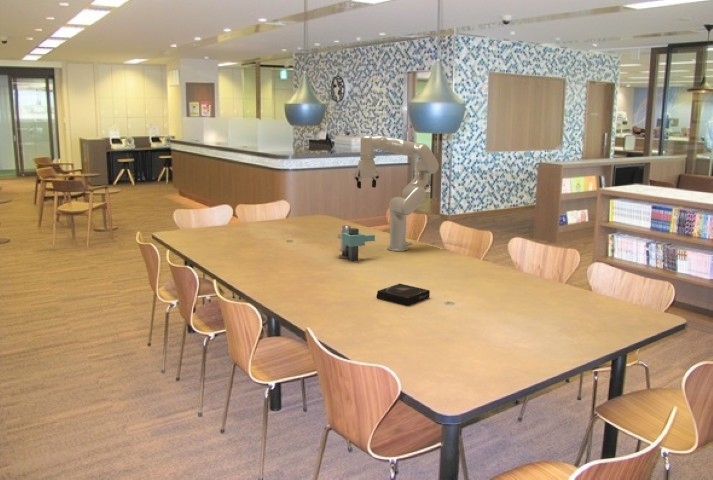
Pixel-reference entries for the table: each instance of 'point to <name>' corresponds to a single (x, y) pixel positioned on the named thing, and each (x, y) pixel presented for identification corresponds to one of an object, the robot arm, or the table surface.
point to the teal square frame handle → (356, 239)
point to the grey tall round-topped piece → (344, 247)
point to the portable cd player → (403, 294)
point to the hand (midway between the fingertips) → (366, 187)
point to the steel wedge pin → (354, 250)
